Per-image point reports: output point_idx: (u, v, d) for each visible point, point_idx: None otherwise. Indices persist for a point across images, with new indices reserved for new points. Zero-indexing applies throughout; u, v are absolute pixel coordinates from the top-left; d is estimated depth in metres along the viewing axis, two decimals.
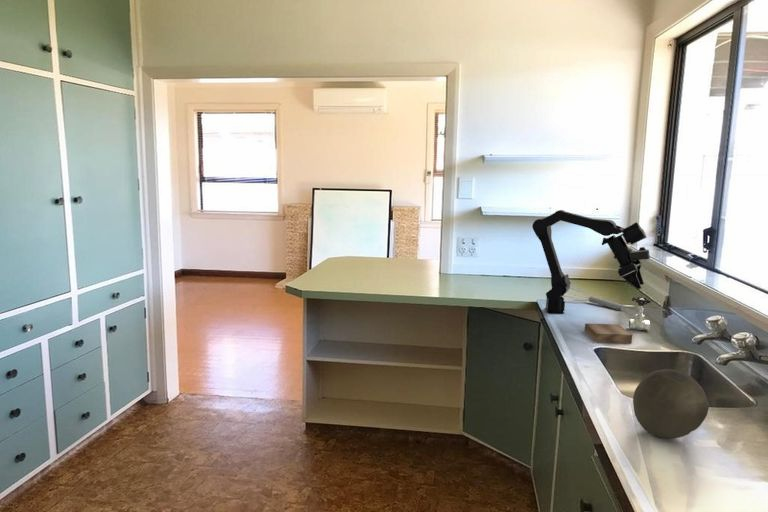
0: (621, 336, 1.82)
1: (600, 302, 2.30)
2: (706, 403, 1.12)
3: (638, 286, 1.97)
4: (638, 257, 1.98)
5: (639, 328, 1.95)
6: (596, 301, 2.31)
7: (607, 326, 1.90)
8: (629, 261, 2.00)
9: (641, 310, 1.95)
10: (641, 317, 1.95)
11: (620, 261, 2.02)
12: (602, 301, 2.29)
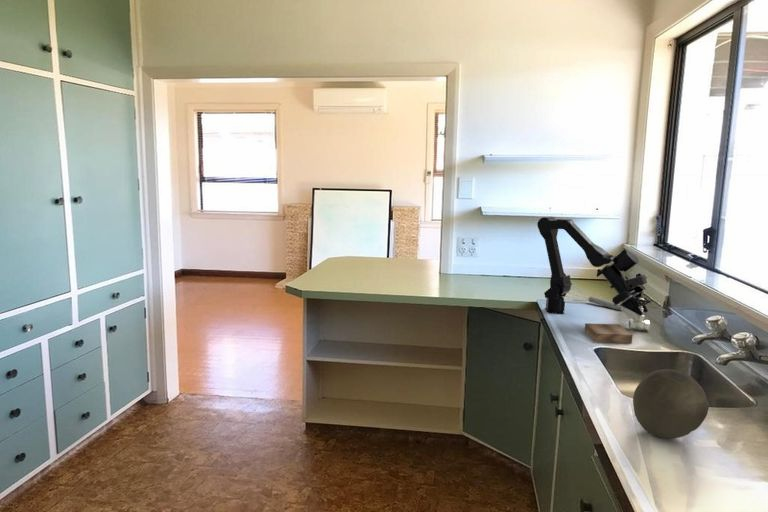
0: (621, 336, 1.82)
1: (600, 302, 2.30)
2: (706, 403, 1.12)
3: (639, 312, 1.93)
4: (633, 284, 1.94)
5: (639, 328, 1.95)
6: (596, 301, 2.31)
7: (607, 326, 1.90)
8: (625, 289, 1.96)
9: (641, 310, 1.95)
10: (641, 317, 1.95)
11: (617, 290, 1.99)
12: (602, 301, 2.29)
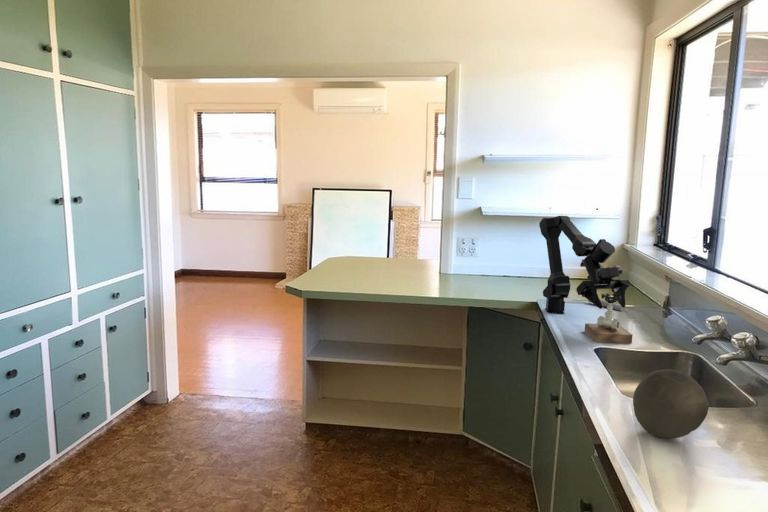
0: (621, 336, 1.82)
1: None
2: (706, 403, 1.12)
3: (599, 305, 1.84)
4: (602, 275, 1.86)
5: (605, 326, 1.86)
6: None
7: None
8: (596, 280, 1.89)
9: (609, 307, 1.86)
10: (608, 315, 1.86)
11: None
12: (602, 301, 2.29)
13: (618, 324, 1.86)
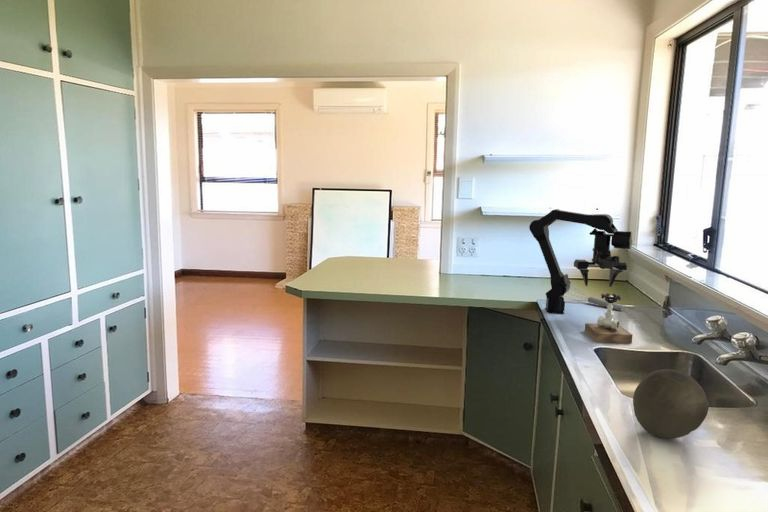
0: (621, 336, 1.82)
1: (599, 302, 2.29)
2: (706, 403, 1.12)
3: (585, 283, 2.09)
4: (598, 262, 2.03)
5: (605, 326, 1.86)
6: (595, 301, 2.31)
7: None
8: (595, 260, 2.06)
9: (609, 307, 1.86)
10: (608, 315, 1.86)
11: None
12: (601, 301, 2.29)
13: (618, 324, 1.86)
